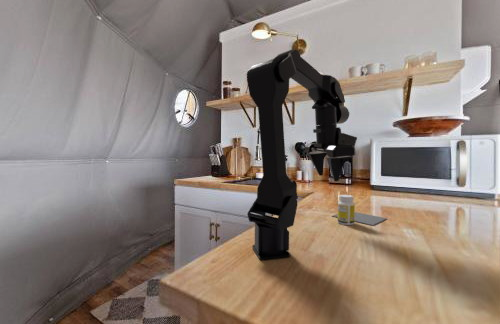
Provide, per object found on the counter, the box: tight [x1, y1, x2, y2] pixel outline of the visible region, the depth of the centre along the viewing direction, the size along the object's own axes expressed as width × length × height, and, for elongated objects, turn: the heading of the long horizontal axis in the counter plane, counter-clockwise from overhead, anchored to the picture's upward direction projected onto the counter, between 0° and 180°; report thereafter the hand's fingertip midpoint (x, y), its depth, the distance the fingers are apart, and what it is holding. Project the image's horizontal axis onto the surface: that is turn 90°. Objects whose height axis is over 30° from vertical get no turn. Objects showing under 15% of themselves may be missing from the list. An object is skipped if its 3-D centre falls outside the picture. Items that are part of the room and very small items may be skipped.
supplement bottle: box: [337, 194, 356, 226], centre depth 70 cm, size 5×5×8 cm
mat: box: [331, 211, 387, 227], centre depth 76 cm, size 11×13×1 cm
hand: (328, 178), depth 68 cm, fingers open, 9 cm apart
